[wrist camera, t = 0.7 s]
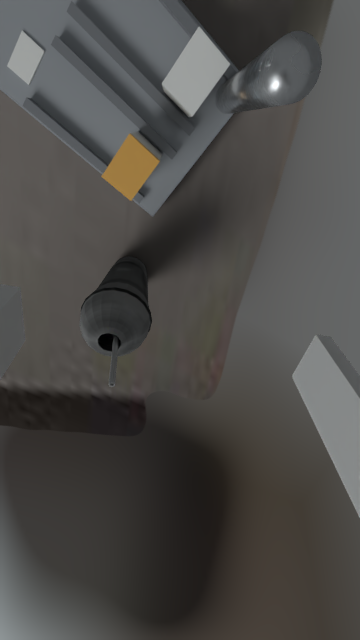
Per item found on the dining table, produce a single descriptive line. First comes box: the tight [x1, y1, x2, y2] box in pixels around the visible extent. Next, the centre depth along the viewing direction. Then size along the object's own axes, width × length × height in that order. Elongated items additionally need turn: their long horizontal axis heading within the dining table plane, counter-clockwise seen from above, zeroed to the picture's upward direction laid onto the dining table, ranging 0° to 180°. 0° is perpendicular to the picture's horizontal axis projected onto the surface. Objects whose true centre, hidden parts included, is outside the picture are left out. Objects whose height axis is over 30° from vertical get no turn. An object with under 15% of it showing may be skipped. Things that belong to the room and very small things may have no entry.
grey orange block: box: [101, 131, 162, 201], centre depth 28 cm, size 3×4×7 cm
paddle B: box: [162, 27, 230, 117], centre depth 24 cm, size 3×4×7 cm
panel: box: [0, 0, 239, 217], centre depth 28 cm, size 20×15×4 cm
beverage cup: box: [80, 257, 152, 387], centre depth 32 cm, size 7×7×20 cm
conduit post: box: [215, 31, 322, 114], centre depth 20 cm, size 2×2×18 cm
